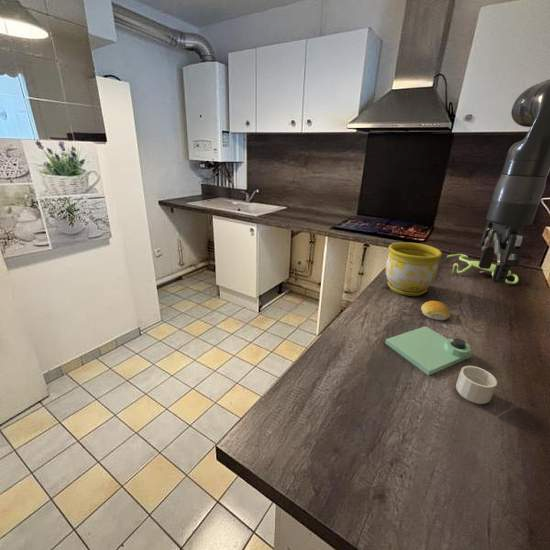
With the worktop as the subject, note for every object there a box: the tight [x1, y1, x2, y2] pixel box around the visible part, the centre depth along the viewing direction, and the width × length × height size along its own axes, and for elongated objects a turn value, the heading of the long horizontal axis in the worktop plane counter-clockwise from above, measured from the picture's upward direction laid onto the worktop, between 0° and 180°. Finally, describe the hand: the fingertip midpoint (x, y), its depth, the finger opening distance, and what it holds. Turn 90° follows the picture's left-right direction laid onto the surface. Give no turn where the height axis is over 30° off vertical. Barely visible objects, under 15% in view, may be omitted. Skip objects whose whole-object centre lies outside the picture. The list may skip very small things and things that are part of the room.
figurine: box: [446, 253, 520, 285], centre depth 129 cm, size 18×27×6 cm
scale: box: [384, 325, 473, 376], centre depth 78 cm, size 16×14×3 cm
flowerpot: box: [385, 241, 443, 297], centre depth 111 cm, size 18×18×16 cm
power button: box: [452, 337, 467, 349], centre depth 76 cm, size 3×3×2 cm
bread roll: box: [420, 300, 451, 322], centre depth 96 cm, size 8×9×4 cm
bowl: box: [455, 365, 498, 405], centre depth 64 cm, size 6×6×5 cm
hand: (490, 274), depth 64 cm, fingers open, 8 cm apart
